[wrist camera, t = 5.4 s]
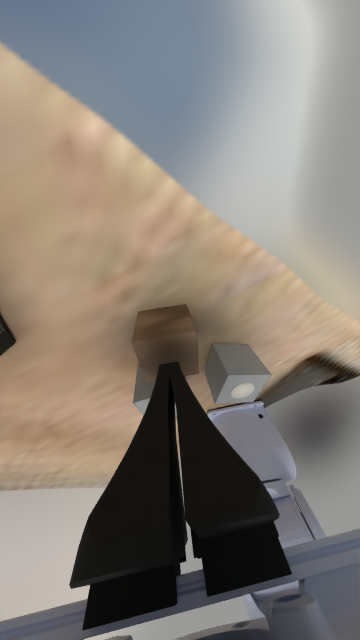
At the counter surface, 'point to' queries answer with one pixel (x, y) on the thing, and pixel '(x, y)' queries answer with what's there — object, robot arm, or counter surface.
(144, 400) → the grey dot cube
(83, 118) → the counter surface
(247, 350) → the grey dot cube
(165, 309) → the walnut cube
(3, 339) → the tampon box
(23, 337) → the counter surface
